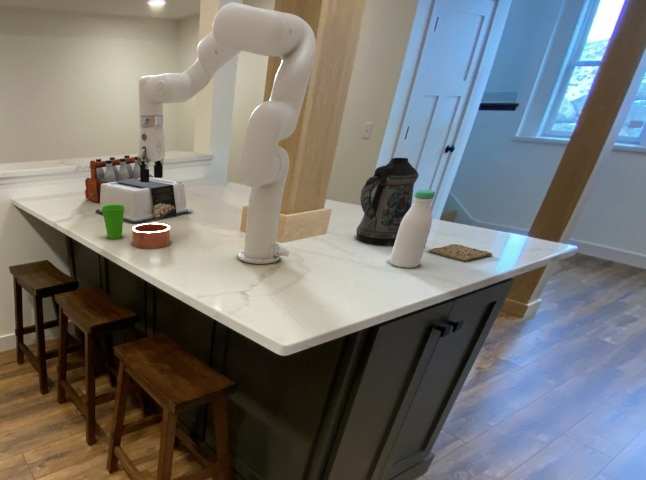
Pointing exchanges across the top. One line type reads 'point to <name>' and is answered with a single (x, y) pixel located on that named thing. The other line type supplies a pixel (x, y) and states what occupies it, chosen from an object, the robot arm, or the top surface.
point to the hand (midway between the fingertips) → (151, 179)
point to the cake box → (145, 198)
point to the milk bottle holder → (109, 174)
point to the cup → (113, 220)
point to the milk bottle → (413, 231)
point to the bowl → (151, 235)
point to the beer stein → (386, 202)
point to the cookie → (460, 252)
